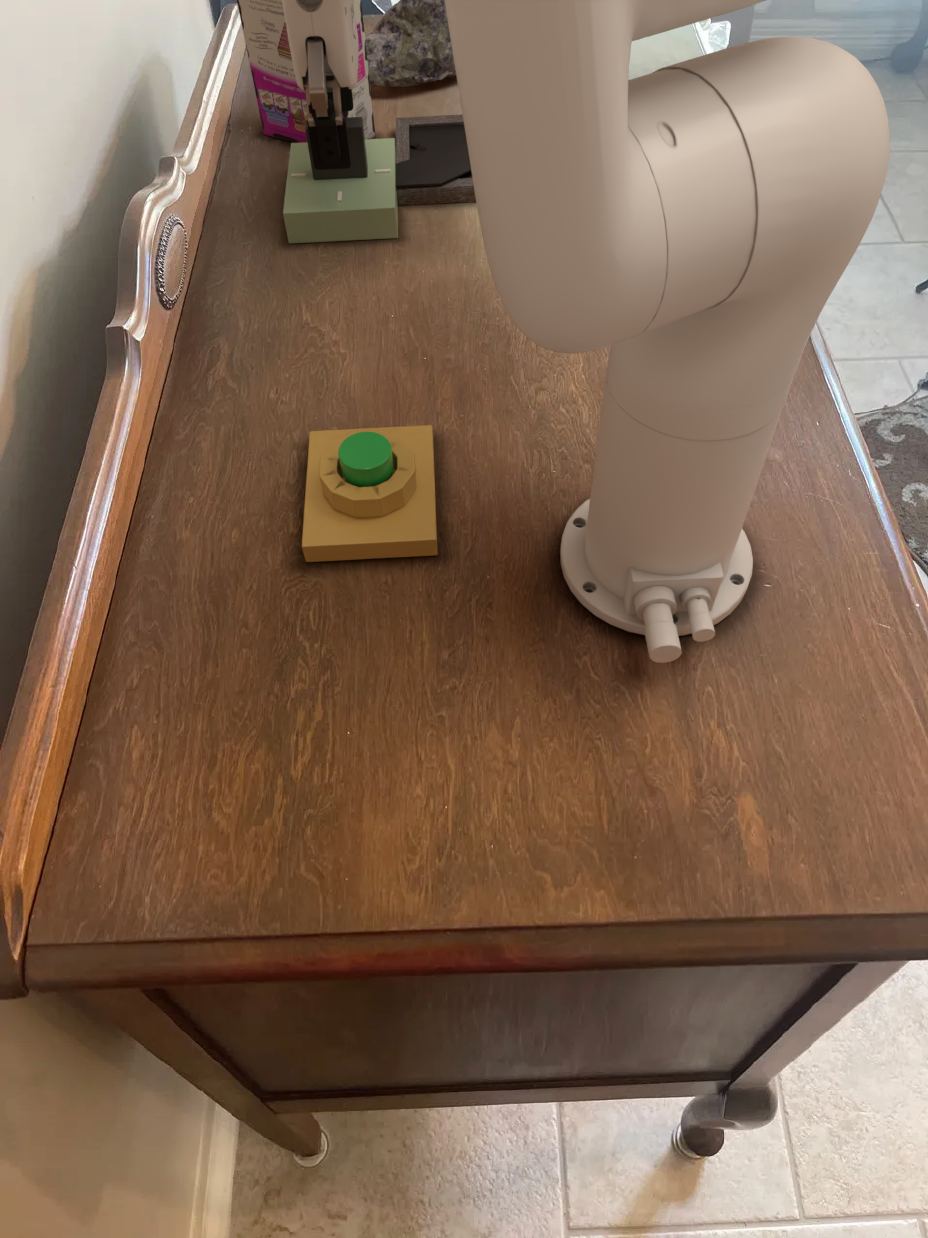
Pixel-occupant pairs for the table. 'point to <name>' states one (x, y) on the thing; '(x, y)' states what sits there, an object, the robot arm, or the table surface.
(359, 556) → the switch block
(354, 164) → the dimmer knob
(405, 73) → the mineral rock
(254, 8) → the candy bar box
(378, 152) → the dimmer panel
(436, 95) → the table surface
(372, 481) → the button
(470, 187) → the picture frame
